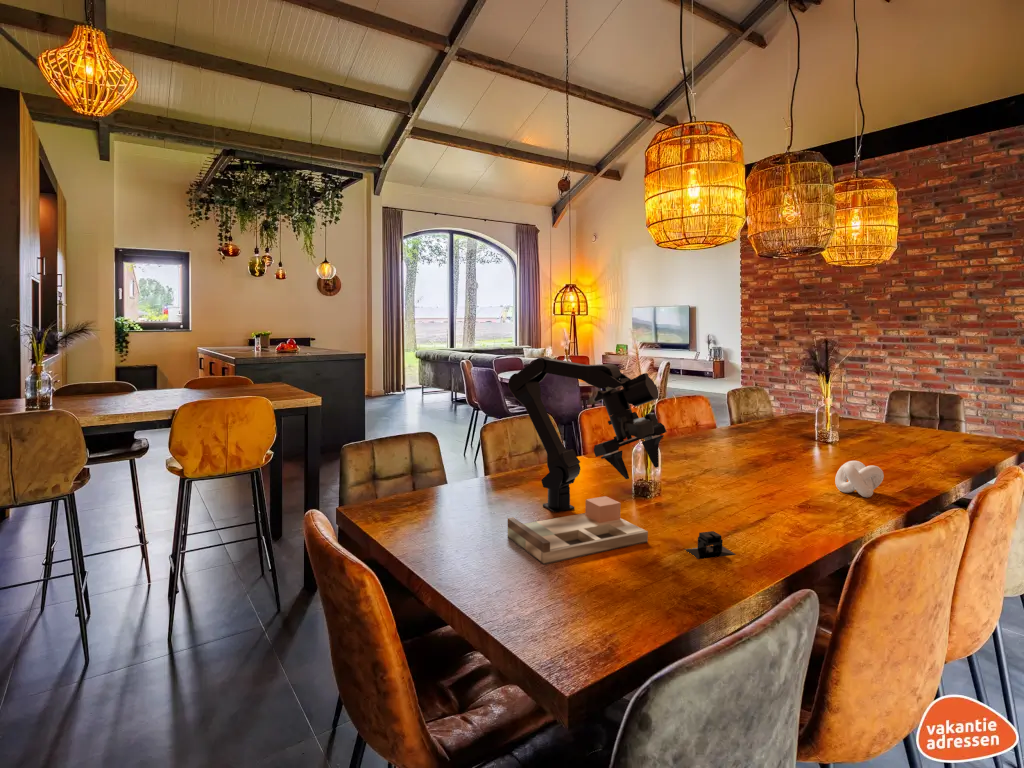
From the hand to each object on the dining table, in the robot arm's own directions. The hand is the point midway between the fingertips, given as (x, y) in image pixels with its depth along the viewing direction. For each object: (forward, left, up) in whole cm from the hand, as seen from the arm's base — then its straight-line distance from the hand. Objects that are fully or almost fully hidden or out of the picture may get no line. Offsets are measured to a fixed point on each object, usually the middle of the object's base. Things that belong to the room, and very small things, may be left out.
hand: (642, 473), depth 136 cm
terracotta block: (-3, -9, -11) cm, 14 cm away
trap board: (+1, -19, -13) cm, 23 cm away
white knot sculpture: (+6, +74, -13) cm, 75 cm away
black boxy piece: (+20, +3, -14) cm, 24 cm away
